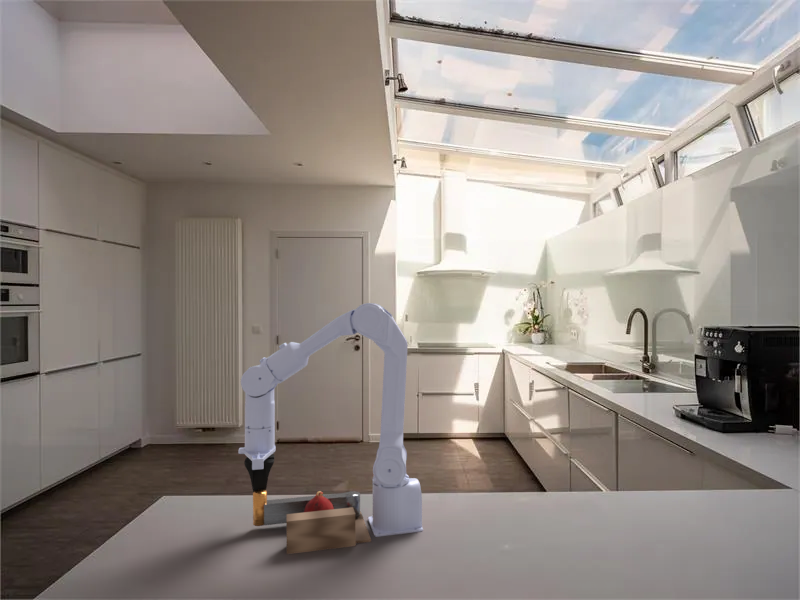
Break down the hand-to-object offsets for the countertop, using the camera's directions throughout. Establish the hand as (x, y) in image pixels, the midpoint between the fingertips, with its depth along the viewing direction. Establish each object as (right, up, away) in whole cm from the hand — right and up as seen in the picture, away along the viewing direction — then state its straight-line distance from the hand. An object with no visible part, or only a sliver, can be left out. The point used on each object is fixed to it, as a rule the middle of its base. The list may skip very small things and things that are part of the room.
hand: (259, 494), depth 95 cm
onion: (+13, -6, -4) cm, 14 cm away
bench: (+14, -6, -4) cm, 16 cm away
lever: (+10, -5, 0) cm, 11 cm away
